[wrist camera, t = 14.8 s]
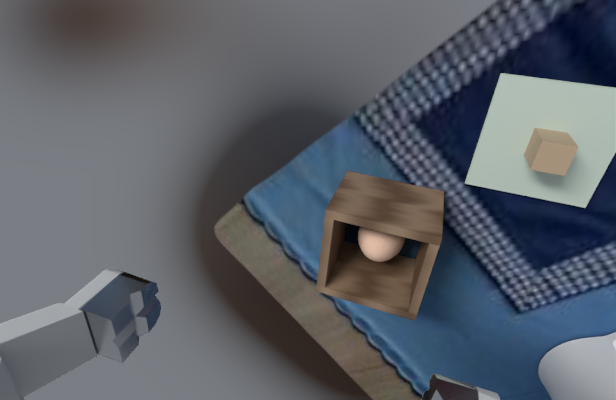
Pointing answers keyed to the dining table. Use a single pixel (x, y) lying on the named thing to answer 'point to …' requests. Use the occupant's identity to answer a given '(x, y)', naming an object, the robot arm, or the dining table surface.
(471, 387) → the robot arm
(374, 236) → the egg
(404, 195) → the box
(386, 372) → the dining table surface
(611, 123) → the lid
